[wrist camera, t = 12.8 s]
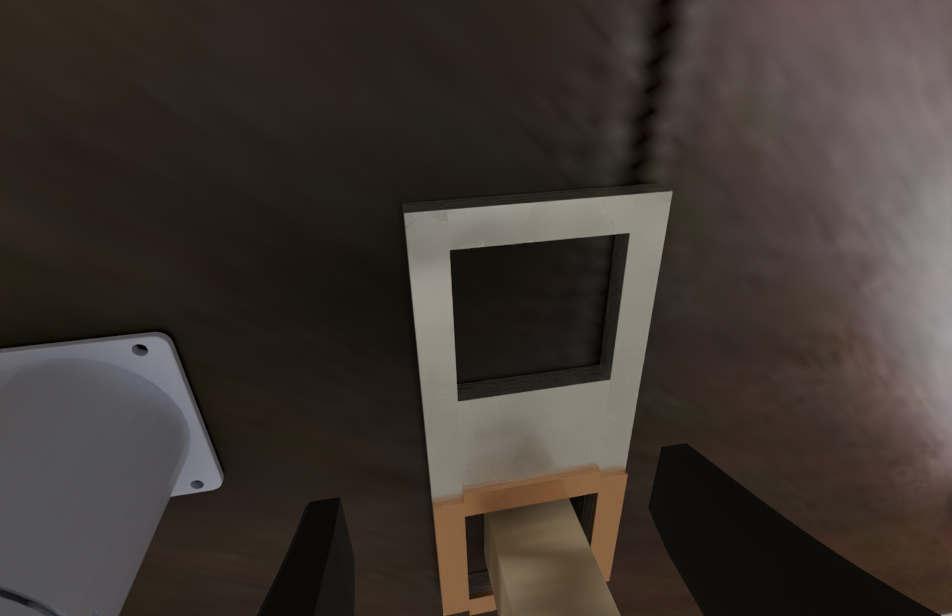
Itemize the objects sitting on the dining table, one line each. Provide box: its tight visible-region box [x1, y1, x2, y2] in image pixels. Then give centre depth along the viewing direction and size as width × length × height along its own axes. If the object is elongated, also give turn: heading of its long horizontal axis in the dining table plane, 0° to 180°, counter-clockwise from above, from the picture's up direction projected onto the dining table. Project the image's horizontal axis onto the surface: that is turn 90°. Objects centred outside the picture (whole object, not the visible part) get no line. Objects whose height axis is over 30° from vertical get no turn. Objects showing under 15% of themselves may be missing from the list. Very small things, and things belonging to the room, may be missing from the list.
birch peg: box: [484, 498, 620, 616], centre depth 24 cm, size 4×4×8 cm
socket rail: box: [402, 183, 673, 616], centre depth 24 cm, size 10×24×2 cm, turn 1°
